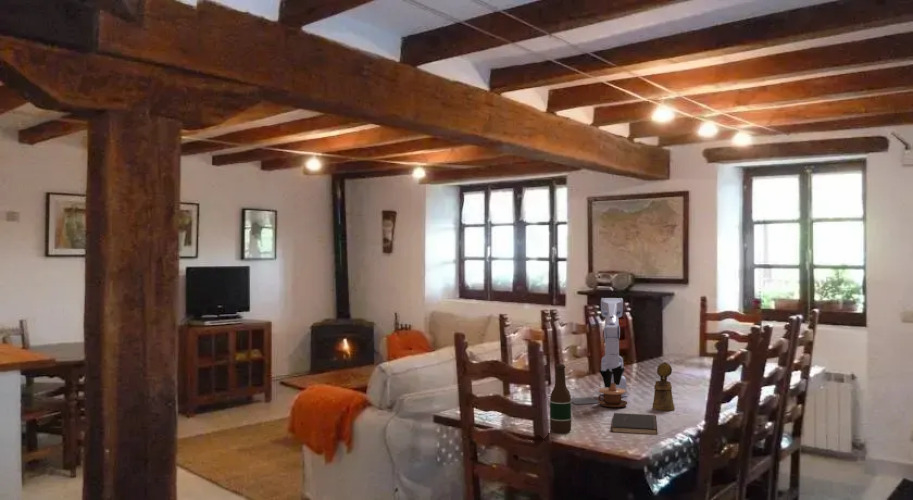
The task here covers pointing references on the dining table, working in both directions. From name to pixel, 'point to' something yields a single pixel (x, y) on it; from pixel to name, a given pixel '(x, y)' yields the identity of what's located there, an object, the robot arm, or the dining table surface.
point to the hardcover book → (634, 423)
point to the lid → (612, 390)
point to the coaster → (583, 401)
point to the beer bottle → (560, 404)
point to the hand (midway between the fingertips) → (612, 385)
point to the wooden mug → (663, 389)
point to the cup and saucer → (612, 401)
